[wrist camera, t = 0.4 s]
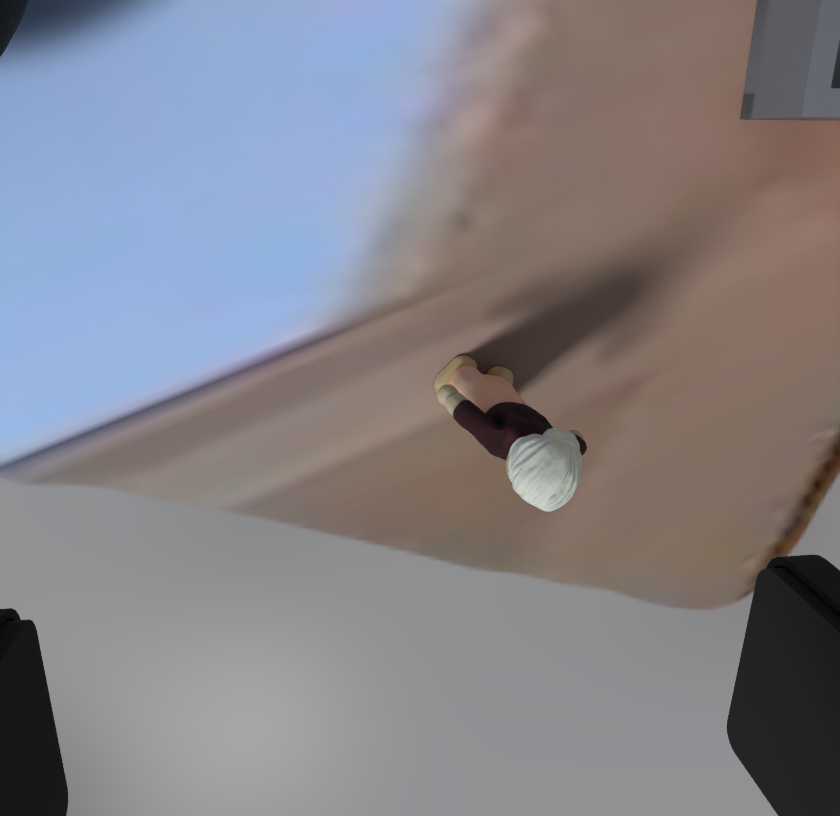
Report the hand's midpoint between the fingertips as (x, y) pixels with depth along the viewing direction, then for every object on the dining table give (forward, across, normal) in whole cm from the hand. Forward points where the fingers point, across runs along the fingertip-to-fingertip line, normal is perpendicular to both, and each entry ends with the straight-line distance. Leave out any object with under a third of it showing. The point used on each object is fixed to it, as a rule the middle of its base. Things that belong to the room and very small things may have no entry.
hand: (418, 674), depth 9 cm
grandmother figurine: (+30, -8, +6) cm, 32 cm away
